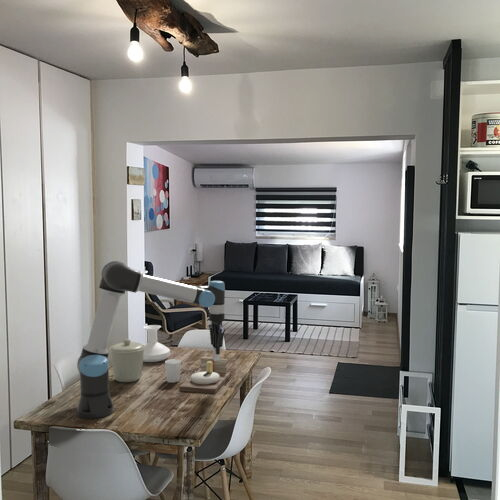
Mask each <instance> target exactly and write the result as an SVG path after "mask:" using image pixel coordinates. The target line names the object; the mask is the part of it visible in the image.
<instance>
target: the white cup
mask: <svg viewBox="0 0 500 500" xmlns="http://www.w3.org/2000/svg"><path fill="white" fill-rule="evenodd" d="M181 363H182V362H181V359H177V358H172V359H167V360H166V359H165V360H164V367H165V369H164V370H165V376H166V377H165V378H166V380H165V381H166V382H167V383H171V384H172V383H178V382H180V381H181V369H182V368H181V366H182V364H181Z"/></svg>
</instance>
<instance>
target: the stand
mask: <svg viewBox="0 0 500 500" xmlns="http://www.w3.org/2000/svg"><path fill="white" fill-rule="evenodd" d="M208 361H211V362H212V363H213V372H215V373H218V374H219V381H218V382H216V383H212V384H196V383H193V382H192V381H191V376H190V377H188V378H187V379H185V381H184V382H182V383H181V384H180V385H179V389H178V390H179V391H183V392H192V393H193V392H194V393H203V394H204V393H206V394H207V393H208V394H216V393H217V392H218V391H219V390H220V389H221V387H223V385H225V383H226V382H227V381H228V380H229V379H230V378H231V376H232V372H231V371H228V359H227V358H220V360H218V361H214V360H213V357H202V356H201V357H200V369H197V370H196V371H195V372H194V373H197V372H207V362H208Z"/></svg>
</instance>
